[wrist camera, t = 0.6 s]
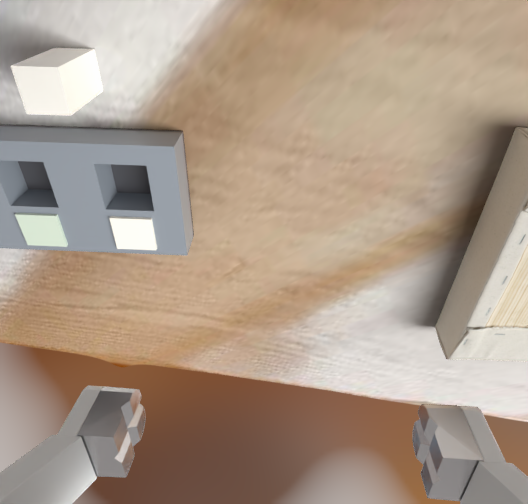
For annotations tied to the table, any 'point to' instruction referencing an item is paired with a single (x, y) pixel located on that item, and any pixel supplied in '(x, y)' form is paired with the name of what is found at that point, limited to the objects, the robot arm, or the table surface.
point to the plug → (58, 81)
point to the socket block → (94, 190)
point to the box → (493, 272)
